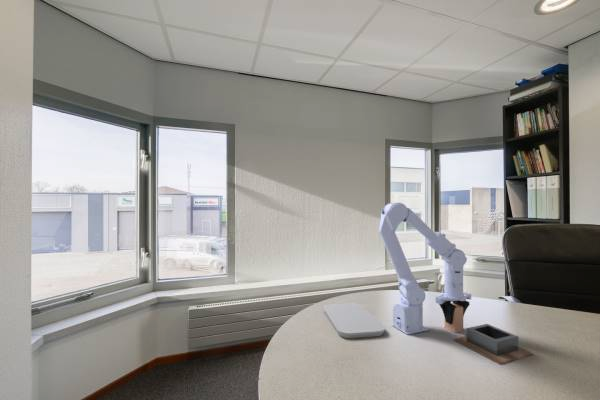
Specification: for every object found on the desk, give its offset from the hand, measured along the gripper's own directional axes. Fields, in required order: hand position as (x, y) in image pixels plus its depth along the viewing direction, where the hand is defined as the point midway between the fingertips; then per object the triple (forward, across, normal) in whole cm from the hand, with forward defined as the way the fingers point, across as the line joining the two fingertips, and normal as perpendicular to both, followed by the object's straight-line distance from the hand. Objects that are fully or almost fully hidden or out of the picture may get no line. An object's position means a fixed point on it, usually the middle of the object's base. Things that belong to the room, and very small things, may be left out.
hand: (453, 322), depth 95 cm
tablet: (+3, -30, +18) cm, 35 cm away
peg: (+2, 0, 0) cm, 2 cm away
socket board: (+2, 0, -13) cm, 13 cm away
